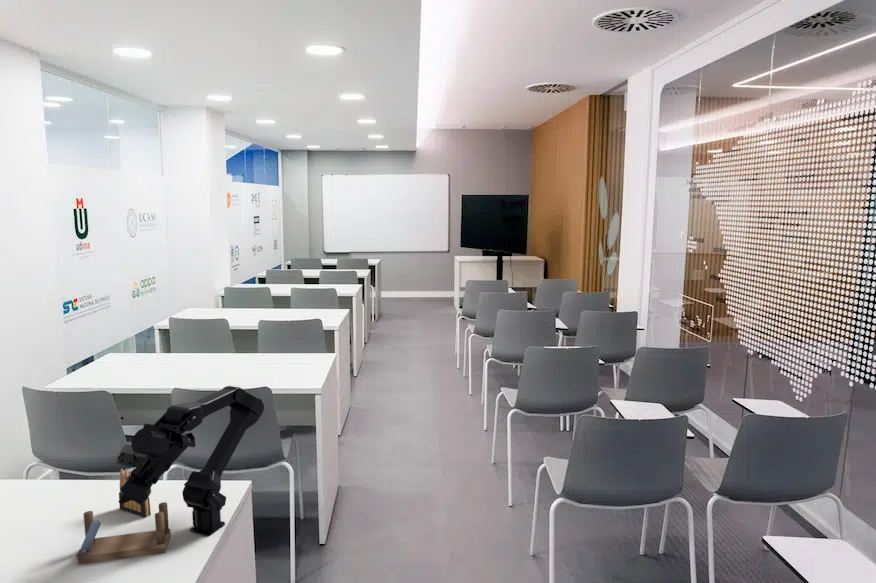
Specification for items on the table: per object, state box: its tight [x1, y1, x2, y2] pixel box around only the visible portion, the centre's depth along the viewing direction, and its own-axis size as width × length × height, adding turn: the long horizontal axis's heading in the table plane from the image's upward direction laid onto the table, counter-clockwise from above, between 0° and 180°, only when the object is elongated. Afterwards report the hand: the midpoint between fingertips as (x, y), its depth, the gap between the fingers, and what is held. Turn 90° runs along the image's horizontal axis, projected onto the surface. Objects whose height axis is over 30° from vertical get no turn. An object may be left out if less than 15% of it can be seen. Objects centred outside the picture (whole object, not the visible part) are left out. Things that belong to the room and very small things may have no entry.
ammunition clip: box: [118, 468, 152, 519], centre depth 166 cm, size 11×2×12 cm, turn 64°
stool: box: [75, 501, 172, 566], centre depth 147 cm, size 20×8×10 cm, turn 105°
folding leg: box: [80, 519, 102, 554], centre depth 143 cm, size 2×2×8 cm
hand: (120, 502), depth 145 cm, fingers closed
